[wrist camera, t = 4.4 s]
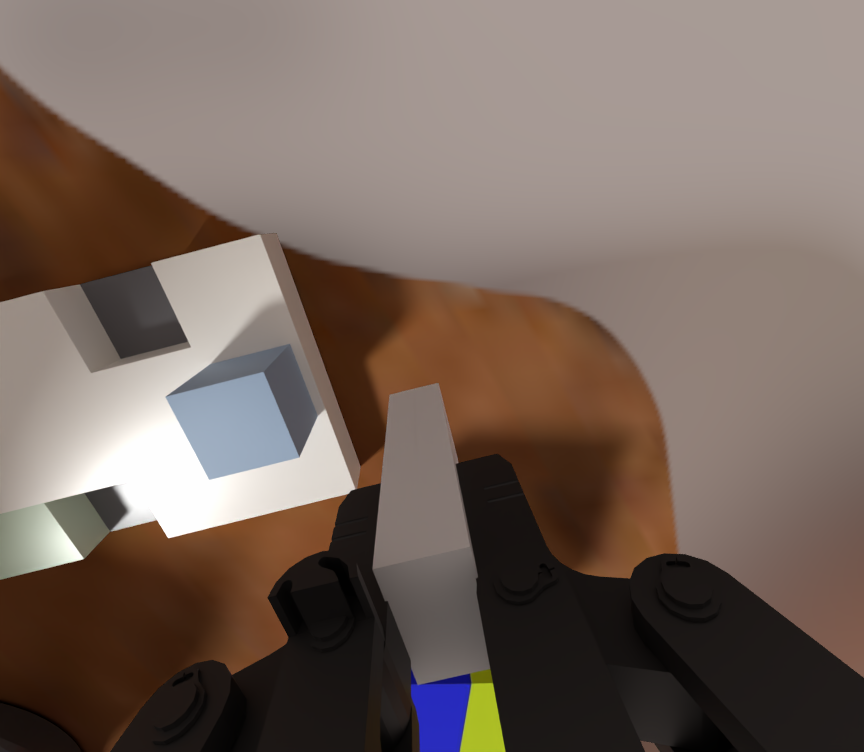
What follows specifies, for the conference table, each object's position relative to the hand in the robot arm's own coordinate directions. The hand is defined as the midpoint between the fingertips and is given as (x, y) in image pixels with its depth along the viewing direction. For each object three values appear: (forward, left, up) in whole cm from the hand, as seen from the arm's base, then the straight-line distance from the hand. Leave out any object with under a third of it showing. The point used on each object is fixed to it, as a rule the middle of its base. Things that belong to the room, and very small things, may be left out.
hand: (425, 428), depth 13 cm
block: (-8, 0, -8) cm, 11 cm away
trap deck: (-16, 0, -11) cm, 19 cm away
